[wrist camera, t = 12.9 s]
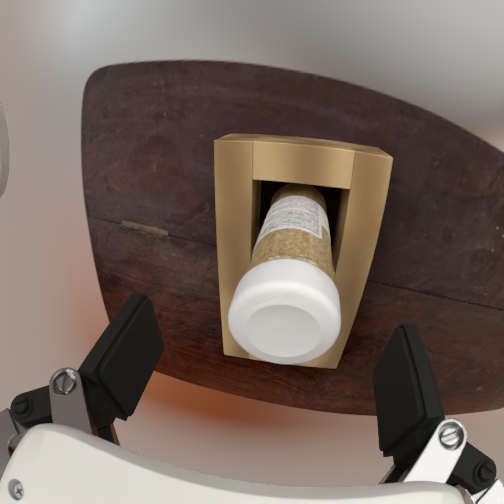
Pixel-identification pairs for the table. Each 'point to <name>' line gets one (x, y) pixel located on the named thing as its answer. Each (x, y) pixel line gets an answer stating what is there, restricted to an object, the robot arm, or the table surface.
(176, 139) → the table surface
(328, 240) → the sprinkles bottle
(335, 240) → the holder
